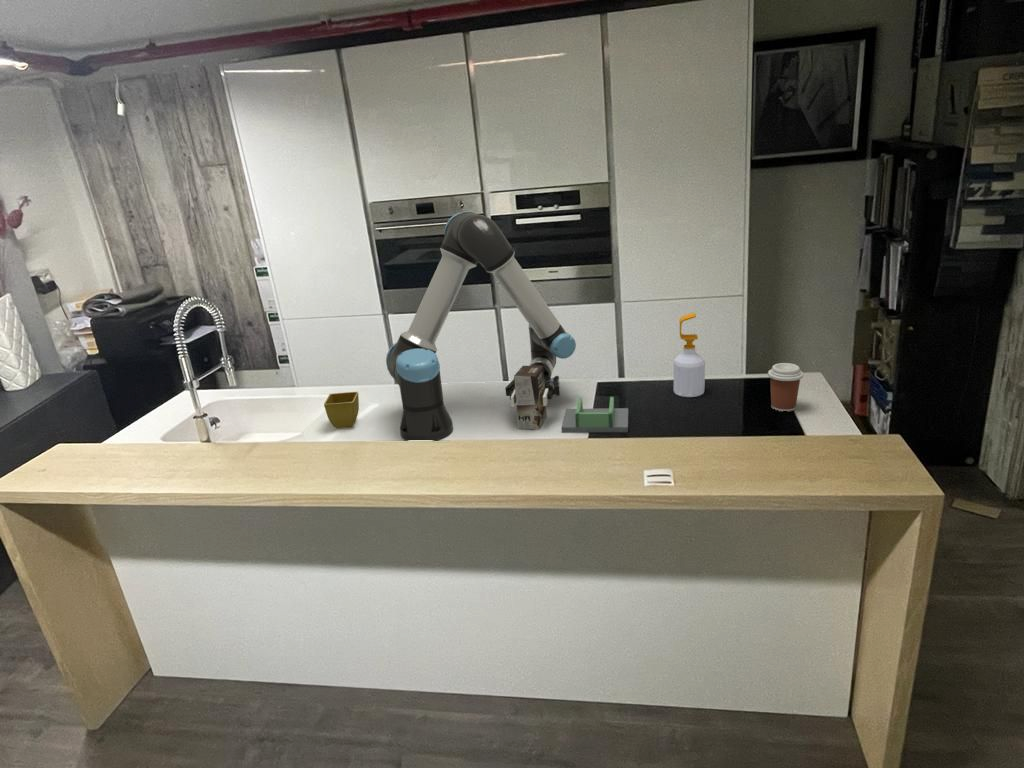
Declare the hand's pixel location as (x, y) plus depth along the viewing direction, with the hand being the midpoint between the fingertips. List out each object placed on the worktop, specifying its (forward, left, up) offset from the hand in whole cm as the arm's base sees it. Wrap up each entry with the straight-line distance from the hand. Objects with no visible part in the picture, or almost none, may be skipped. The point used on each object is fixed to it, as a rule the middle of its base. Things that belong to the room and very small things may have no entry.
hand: (528, 401), depth 187 cm
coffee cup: (+70, +15, -9) cm, 72 cm away
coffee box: (0, +5, -9) cm, 10 cm away
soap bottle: (+45, +27, -9) cm, 53 cm away
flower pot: (-57, +4, -9) cm, 58 cm away
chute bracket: (+18, +5, -9) cm, 20 cm away
